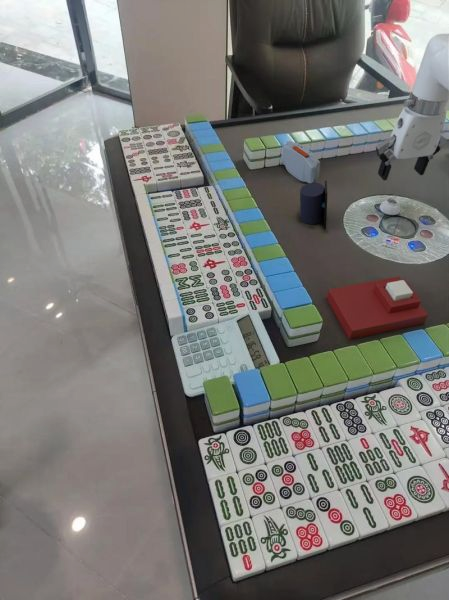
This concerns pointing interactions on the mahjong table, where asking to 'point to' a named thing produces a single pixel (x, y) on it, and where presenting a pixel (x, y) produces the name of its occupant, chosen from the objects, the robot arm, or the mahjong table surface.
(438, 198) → the mahjong table surface
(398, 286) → the white square block
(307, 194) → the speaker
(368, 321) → the red rectangular stepped block
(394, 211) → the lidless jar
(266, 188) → the mahjong table surface
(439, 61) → the robot arm
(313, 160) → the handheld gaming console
